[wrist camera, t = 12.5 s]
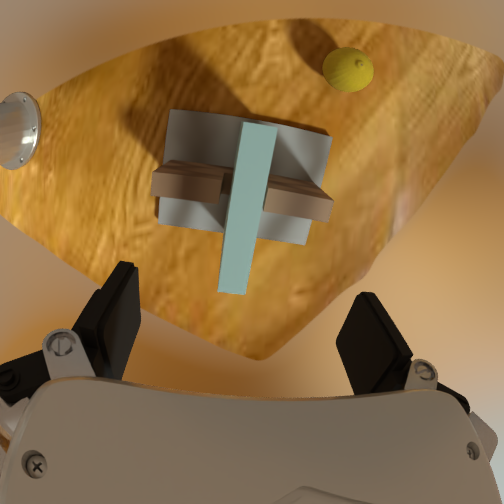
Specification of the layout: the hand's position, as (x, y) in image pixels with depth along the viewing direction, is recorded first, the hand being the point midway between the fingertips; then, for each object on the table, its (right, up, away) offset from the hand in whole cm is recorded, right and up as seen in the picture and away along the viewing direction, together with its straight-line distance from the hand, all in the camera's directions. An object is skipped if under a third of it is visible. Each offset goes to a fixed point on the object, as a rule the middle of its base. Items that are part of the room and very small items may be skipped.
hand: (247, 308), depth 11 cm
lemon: (+11, +25, +17) cm, 32 cm away
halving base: (-1, +12, +23) cm, 26 cm away
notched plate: (-1, +11, +22) cm, 25 cm away
